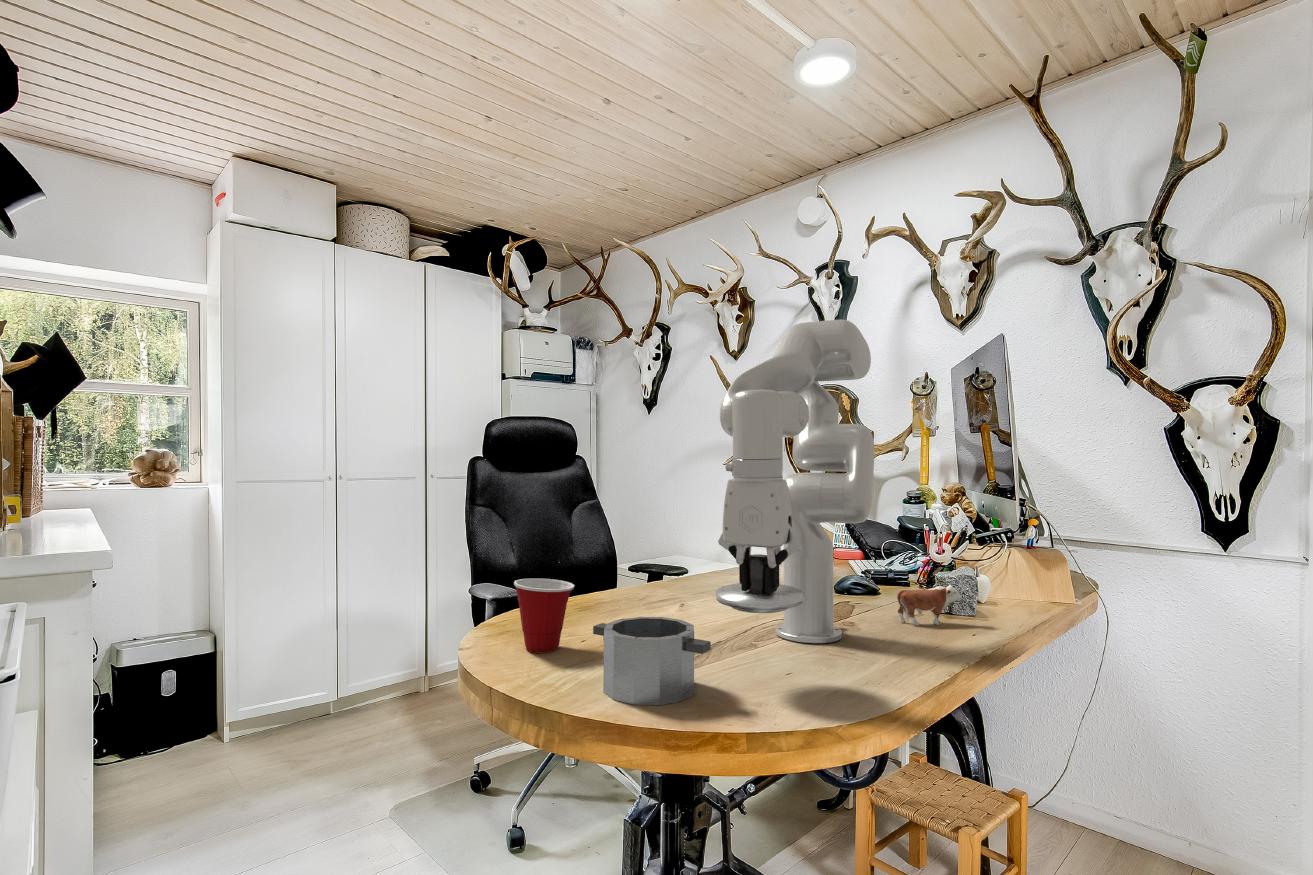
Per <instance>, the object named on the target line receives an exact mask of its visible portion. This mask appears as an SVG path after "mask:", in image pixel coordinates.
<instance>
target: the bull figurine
mask: <svg viewBox="0 0 1313 875" xmlns="http://www.w3.org/2000/svg"><path fill="white" fill-rule="evenodd" d="M896 597H897V602H898V605H899V608H898V610H897V613H898V617H899V618H898V619H899V621H900V622H901V623H902V624H905V623H906V620H907V621H909V619H911V621H912V624H913V625H915V626H916V627H920V626H921V624H920V622H919V621H918V620H917V619H916V616H915V611H917V613H918V615H922V613H923V612H926V611H930V612H931V613H932V615H933V624H935V625H936V626H940V625H941V620H940V619H939V617H940V614H941V613H942V612H943V611H944V610H945V608H946V607H948V605H949V603H954V602H955V601H961V600H962V598H963V596H961V595H960V593H959V591H958V590H957V589H956V588H955V587H954V586H953V585H951V584H949V585H948V586H942V585H938V586H936V587H932V588H931V587H930V588H928V589H901V590H899V591H898V593H897V596H896ZM905 619H906V620H905Z"/></svg>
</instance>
